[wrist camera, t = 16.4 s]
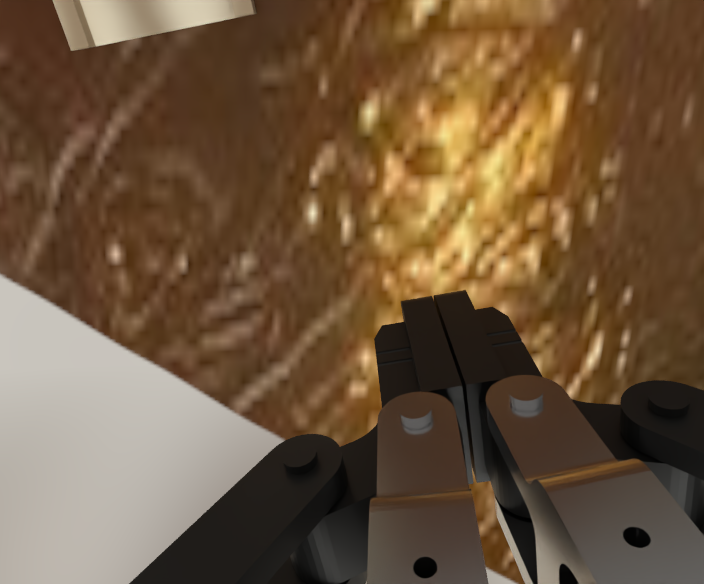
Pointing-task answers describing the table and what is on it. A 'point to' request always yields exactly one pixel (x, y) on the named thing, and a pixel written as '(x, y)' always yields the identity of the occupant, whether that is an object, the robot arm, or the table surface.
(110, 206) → the table surface
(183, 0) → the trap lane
